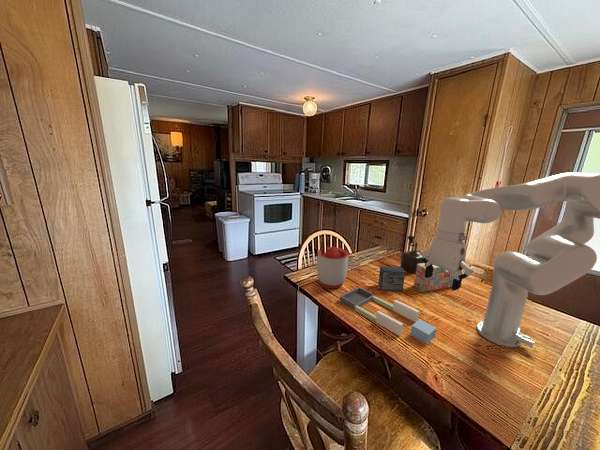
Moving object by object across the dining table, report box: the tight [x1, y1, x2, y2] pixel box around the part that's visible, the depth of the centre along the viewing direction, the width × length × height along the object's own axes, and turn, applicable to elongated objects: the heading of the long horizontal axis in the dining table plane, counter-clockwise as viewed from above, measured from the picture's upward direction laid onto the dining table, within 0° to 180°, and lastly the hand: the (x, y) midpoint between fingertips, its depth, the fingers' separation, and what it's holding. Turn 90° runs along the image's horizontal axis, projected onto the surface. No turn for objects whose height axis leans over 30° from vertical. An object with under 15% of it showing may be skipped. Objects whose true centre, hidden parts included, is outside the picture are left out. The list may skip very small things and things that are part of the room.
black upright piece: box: [399, 235, 429, 274], centre depth 142 cm, size 16×11×18 cm
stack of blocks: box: [413, 263, 455, 292], centre depth 121 cm, size 21×6×12 cm, turn 107°
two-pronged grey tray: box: [339, 286, 420, 337], centre depth 101 cm, size 29×14×4 cm, turn 39°
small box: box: [378, 265, 406, 293], centre depth 119 cm, size 11×6×10 cm, turn 84°
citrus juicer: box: [316, 246, 350, 290], centre depth 122 cm, size 16×17×20 cm
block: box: [410, 318, 438, 345], centre depth 87 cm, size 6×6×4 cm
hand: (441, 283), depth 83 cm, fingers open, 9 cm apart
